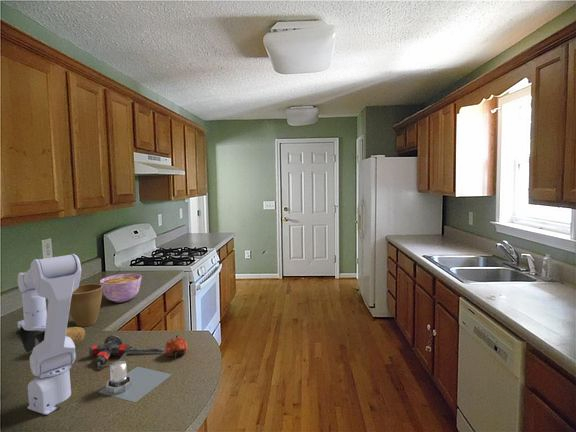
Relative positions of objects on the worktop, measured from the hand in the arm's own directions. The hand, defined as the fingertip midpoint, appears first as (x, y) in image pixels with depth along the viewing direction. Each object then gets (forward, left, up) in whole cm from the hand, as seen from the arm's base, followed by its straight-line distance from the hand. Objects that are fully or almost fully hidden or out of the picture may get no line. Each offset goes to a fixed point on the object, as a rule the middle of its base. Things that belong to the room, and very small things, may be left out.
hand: (38, 352), depth 108 cm
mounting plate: (+9, -30, -9) cm, 33 cm away
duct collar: (+5, -27, -9) cm, 29 cm away
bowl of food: (+68, +38, -10) cm, 78 cm away
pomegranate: (+27, -30, -10) cm, 42 cm away
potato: (+18, +14, -10) cm, 25 cm away
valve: (+20, -13, -10) cm, 26 cm away
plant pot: (+38, +28, -10) cm, 48 cm away
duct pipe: (+5, -27, -8) cm, 29 cm away
